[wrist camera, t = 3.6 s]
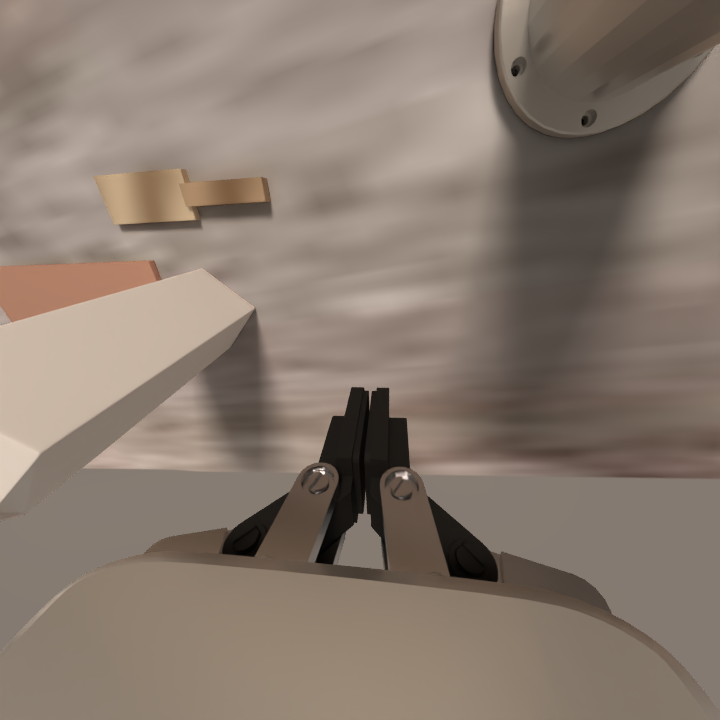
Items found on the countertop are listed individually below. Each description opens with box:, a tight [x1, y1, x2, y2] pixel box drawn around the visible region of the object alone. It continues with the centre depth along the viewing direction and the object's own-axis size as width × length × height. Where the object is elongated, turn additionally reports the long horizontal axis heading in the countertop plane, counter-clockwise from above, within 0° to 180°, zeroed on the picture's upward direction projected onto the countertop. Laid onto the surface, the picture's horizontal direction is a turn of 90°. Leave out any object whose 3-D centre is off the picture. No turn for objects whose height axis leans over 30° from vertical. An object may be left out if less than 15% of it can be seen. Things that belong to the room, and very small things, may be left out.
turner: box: [93, 169, 271, 225], centre depth 22 cm, size 15×4×1 cm, turn 93°
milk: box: [0, 269, 255, 522], centre depth 18 cm, size 6×6×22 cm
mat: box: [0, 261, 161, 322], centre depth 29 cm, size 10×20×1 cm, turn 93°
